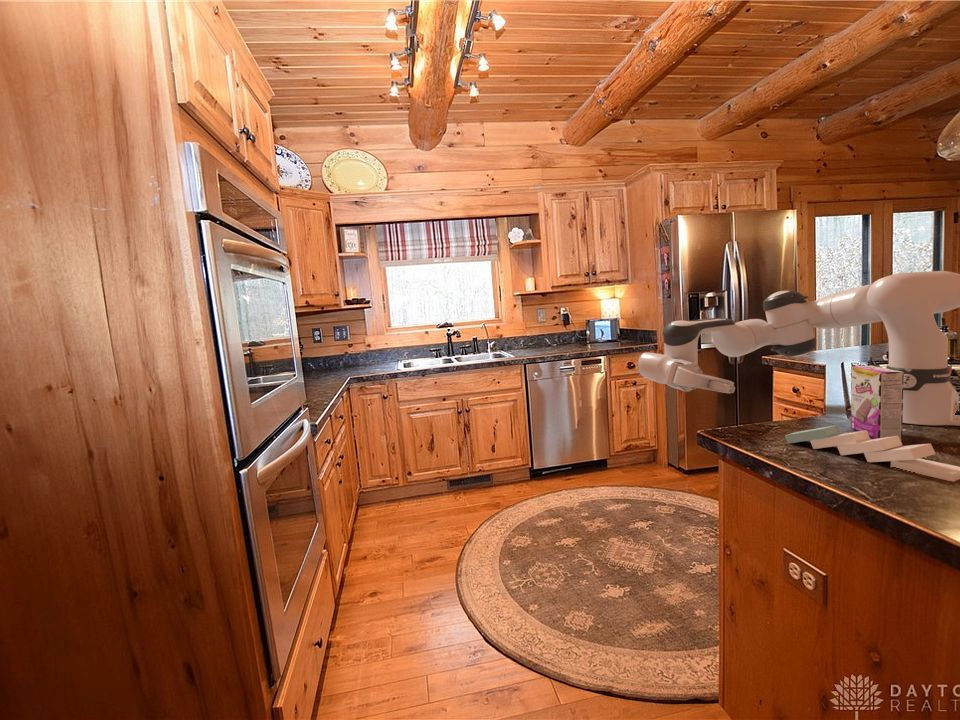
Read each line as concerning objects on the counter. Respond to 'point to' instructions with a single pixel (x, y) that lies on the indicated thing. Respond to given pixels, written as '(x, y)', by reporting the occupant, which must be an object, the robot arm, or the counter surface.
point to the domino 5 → (929, 468)
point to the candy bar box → (877, 401)
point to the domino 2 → (841, 439)
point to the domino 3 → (870, 445)
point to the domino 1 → (812, 434)
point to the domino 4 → (901, 453)
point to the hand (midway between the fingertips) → (731, 389)
